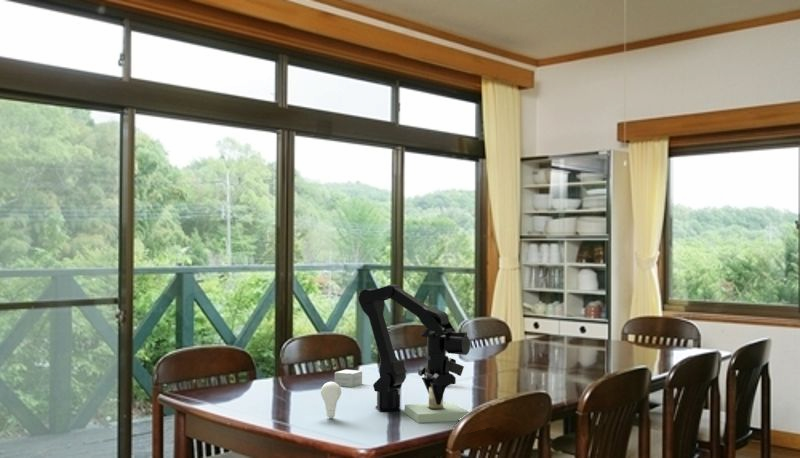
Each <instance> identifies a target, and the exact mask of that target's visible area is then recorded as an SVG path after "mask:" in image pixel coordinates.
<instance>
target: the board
mask: <svg viewBox="0 0 800 458" xmlns="http://www.w3.org/2000/svg"><path fill="white" fill-rule="evenodd" d="M467 413H469V410H467V409H465V408H463V407H461V406H460V405H458V404H456V403H455V402H451V401H450V402H443V409H442V410H430V409H429V403H418V404H417V403H416V404H415V403H413V404H405V405H404V414H406V416H408V417H410V418H411V419H413V420H414V421H415V422H416V423H418V424H422V423H437V422H441V423H442V422H455V421H458V420H459V419H460V418H462V417H463V416H464V415H466V414H467ZM469 414H470V413H469ZM459 421H460V420H459Z"/></svg>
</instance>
